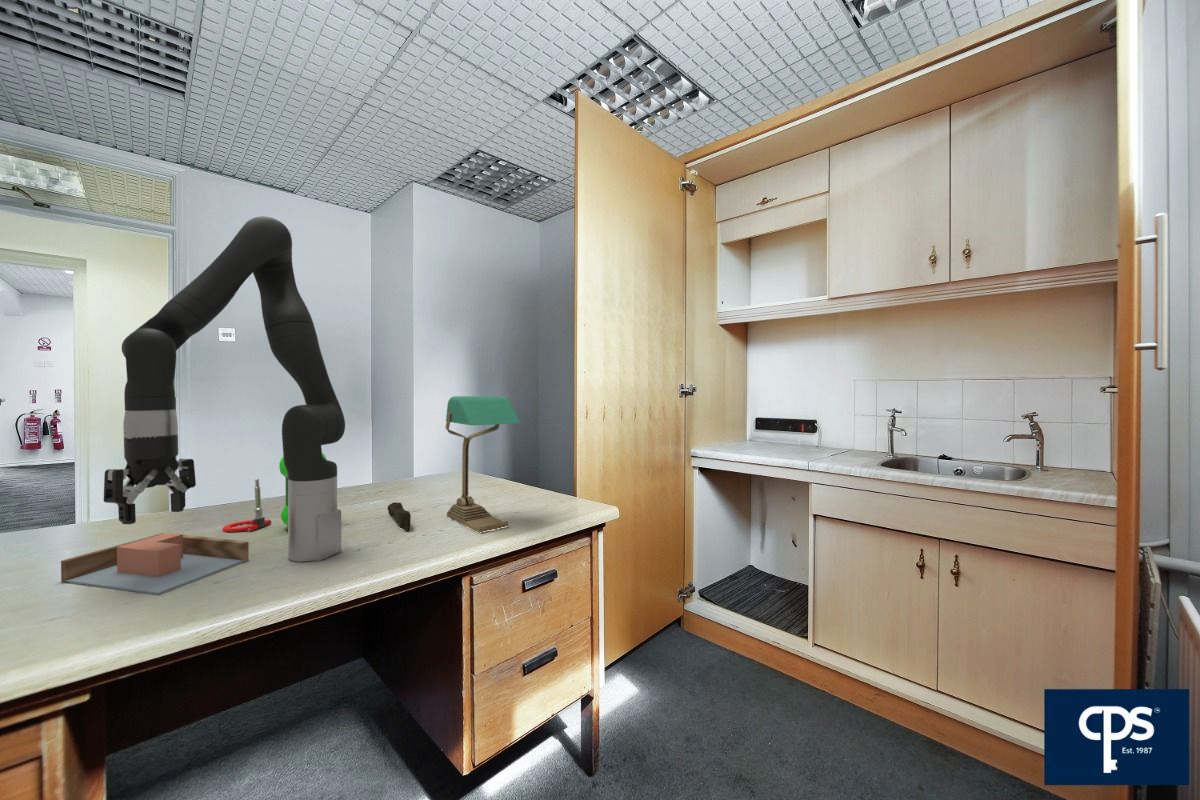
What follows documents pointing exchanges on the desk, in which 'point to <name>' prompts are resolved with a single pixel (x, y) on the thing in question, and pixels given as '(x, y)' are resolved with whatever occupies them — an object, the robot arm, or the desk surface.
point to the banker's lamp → (468, 413)
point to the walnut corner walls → (190, 543)
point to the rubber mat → (189, 572)
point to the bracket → (151, 555)
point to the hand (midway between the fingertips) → (154, 517)
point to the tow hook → (256, 522)
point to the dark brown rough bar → (400, 515)
